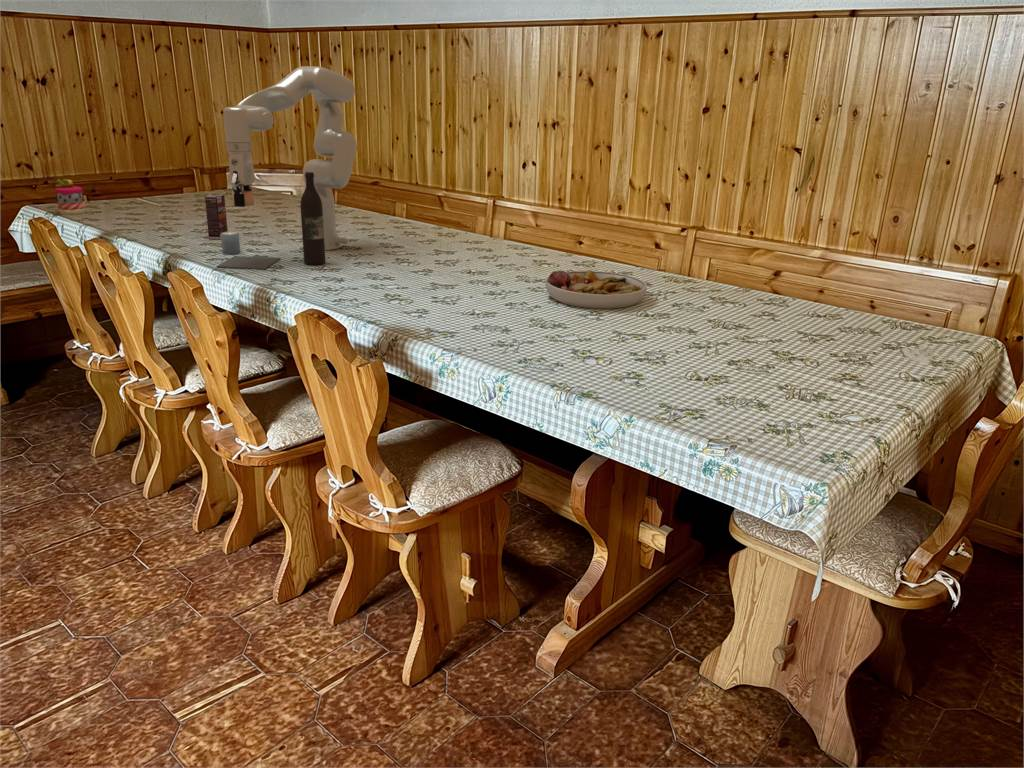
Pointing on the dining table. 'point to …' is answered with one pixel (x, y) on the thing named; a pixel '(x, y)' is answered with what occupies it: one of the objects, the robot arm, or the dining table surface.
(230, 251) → the gray cylinder
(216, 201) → the supplement box
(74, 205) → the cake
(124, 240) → the dining table surface
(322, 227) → the wine bottle
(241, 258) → the mat
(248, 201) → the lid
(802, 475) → the dining table surface
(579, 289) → the bowl
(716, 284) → the dining table surface
